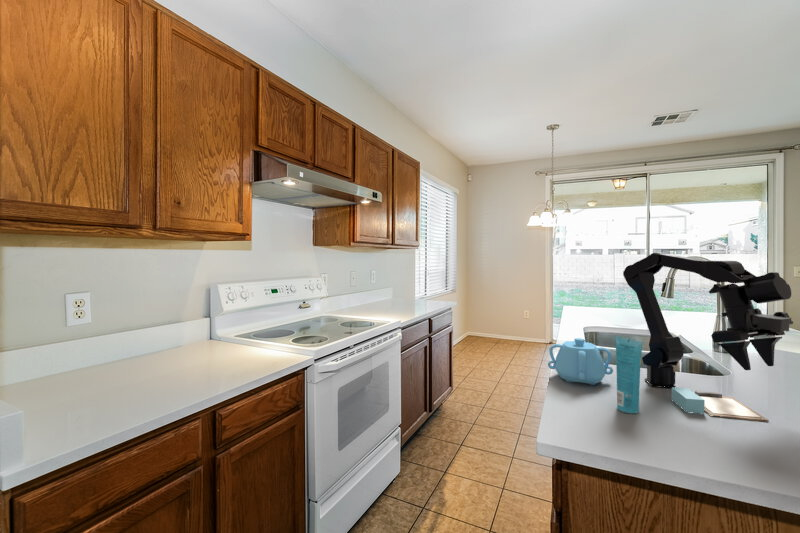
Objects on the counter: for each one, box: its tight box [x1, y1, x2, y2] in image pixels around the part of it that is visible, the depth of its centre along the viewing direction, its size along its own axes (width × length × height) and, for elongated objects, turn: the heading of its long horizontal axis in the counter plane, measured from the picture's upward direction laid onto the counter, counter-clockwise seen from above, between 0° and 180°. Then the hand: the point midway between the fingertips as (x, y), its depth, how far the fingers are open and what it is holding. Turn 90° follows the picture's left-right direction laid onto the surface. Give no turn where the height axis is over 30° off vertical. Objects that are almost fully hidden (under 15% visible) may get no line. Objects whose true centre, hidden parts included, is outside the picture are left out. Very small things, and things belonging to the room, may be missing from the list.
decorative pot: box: [547, 337, 614, 386], centre depth 121 cm, size 16×16×14 cm
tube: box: [614, 335, 644, 414], centre depth 97 cm, size 7×5×19 cm, turn 29°
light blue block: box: [671, 387, 705, 415], centre depth 99 cm, size 10×4×4 cm, turn 165°
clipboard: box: [694, 390, 770, 422], centre depth 98 cm, size 12×15×1 cm
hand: (759, 368), depth 92 cm, fingers open, 9 cm apart
